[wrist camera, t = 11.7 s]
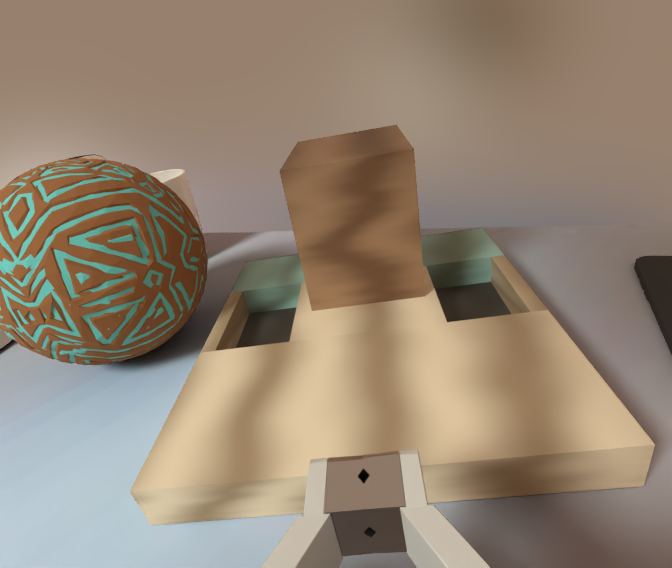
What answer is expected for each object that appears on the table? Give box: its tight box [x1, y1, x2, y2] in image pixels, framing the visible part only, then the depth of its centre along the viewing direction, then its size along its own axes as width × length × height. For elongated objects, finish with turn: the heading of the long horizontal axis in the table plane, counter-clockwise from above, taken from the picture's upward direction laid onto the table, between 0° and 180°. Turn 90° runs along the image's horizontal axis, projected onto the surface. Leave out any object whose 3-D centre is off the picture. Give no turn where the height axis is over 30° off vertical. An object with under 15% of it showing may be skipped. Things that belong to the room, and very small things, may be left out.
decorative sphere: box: [0, 158, 208, 365], centre depth 31 cm, size 15×15×15 cm
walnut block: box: [280, 125, 425, 311], centre depth 31 cm, size 8×10×10 cm
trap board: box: [130, 228, 655, 525], centre depth 29 cm, size 22×24×2 cm
